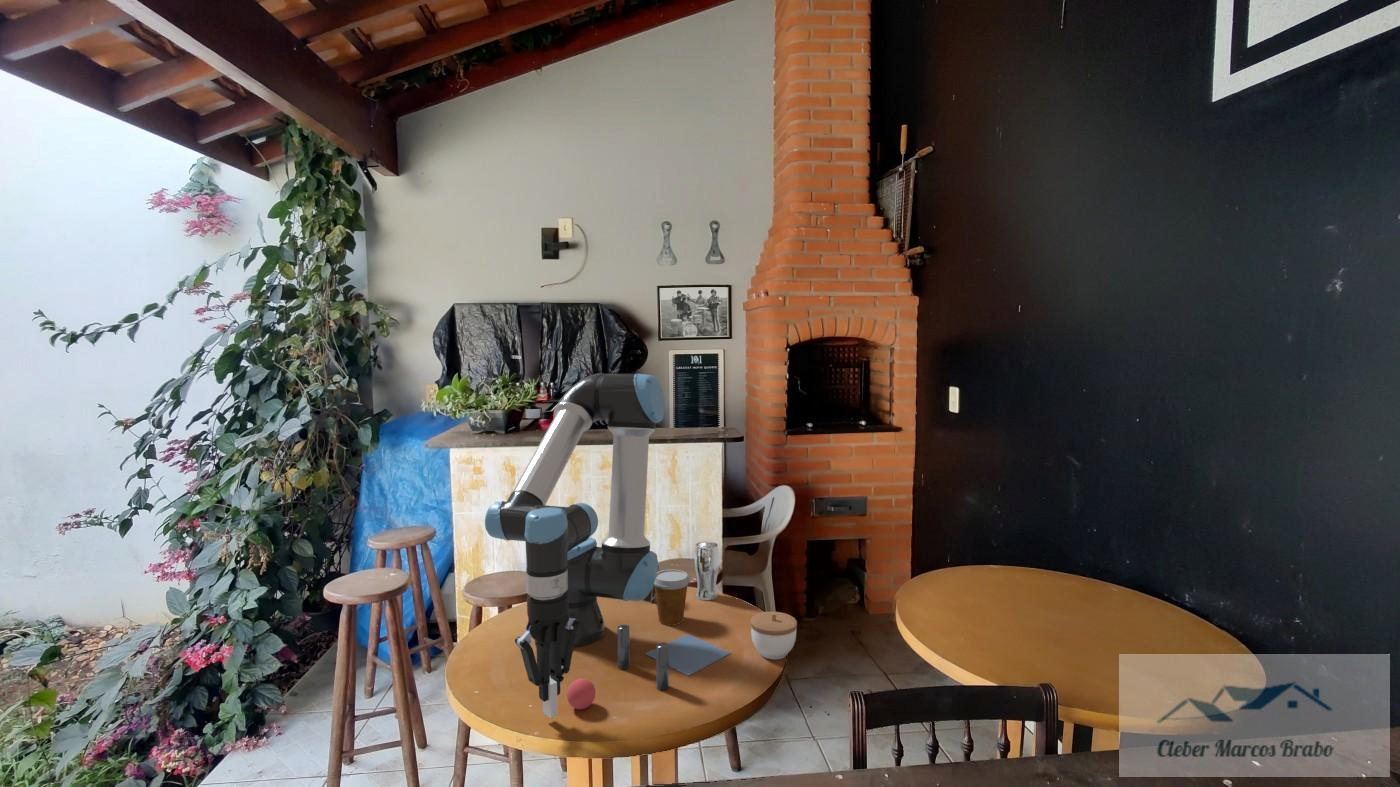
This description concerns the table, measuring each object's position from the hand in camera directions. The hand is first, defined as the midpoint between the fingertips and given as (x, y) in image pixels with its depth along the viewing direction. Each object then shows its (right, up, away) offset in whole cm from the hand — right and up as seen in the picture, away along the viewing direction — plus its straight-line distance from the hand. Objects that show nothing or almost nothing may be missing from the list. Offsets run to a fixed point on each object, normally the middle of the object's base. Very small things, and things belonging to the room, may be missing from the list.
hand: (550, 713), depth 120 cm
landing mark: (+26, 0, +27) cm, 37 cm away
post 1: (+11, 0, +21) cm, 24 cm away
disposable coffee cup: (+21, +1, +45) cm, 50 cm away
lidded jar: (+45, 0, +27) cm, 53 cm away
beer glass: (+30, +2, +61) cm, 68 cm away
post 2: (+20, -1, +12) cm, 24 cm away
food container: (+13, +2, +61) cm, 62 cm away
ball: (+5, +1, +5) cm, 7 cm away
